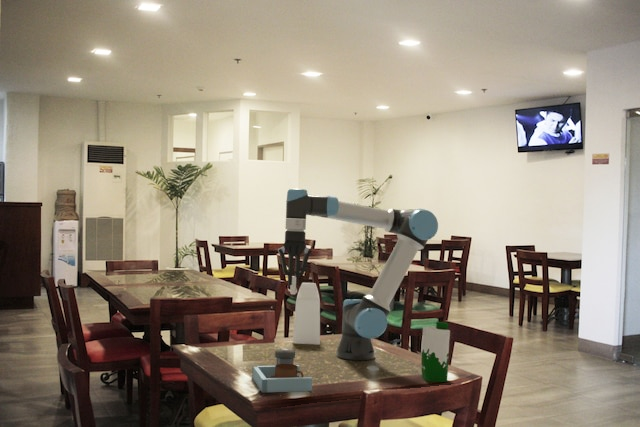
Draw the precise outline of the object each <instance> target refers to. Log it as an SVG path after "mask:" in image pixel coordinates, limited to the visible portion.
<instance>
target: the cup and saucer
mask: <svg viewBox="0 0 640 427" xmlns="http://www.w3.org/2000/svg"><path fill="white" fill-rule="evenodd" d="M296 365H297V364H294V363H293V364H278V365H276V364H275V365H274V366H275V375H274V376H270V377H268V378H294V377H305V376H304V373H303V372H302V371H301V370H300V371H297V369H298V366H296ZM297 373H299V374H301V376H300V375H299V376H297Z"/></svg>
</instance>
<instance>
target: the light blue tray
mask: <svg viewBox="0 0 640 427" xmlns="http://www.w3.org/2000/svg"><path fill="white" fill-rule="evenodd" d="M275 358H276V357H275ZM294 359H295V358H293V359H279V358H276V361H275V365H253V366H252V371H251V372H252V373H251V374H252V376H251V378H252V380H253V381H254V383H255V384H256V386H257V387H258V389H259V391H261V393H263V394H264V393H285V392H286V393H287V392H288V393H289V392H293V393H294V392H312V391H313V377H312V376H311V377H310V376H303V377H301V376H300V373H297V376H299V377H294V378H268V377H270V376H274V375H275V366H276V365H278V364H293V365H294ZM295 365H296V366H298V369H297V371H301V368H300V367H301V366H300V365H299V364H295Z"/></svg>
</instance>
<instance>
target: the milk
mask: <svg viewBox="0 0 640 427" xmlns="http://www.w3.org/2000/svg"><path fill="white" fill-rule="evenodd" d="M320 299H321V298H320V293H319V289H318V286H317V284H316V282H315V283H314V282H302V283H301V284H300V286H299V289H298V292H297V295H296V300H295V308H294V309H295V310H294V320H293V321H294V322H293V333H292V344H299V345H300V344H303V345H321V301H320Z"/></svg>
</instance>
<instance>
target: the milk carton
mask: <svg viewBox="0 0 640 427" xmlns="http://www.w3.org/2000/svg"><path fill="white" fill-rule="evenodd" d="M450 336H451V330H450V329H449V322H448V321H447V322H446V321H436V326H432V325H431V326H422V340H421V363H420V364H421V365H420V366H421V377H422V379H424V380H425V381H426V382H427V383H429V382H430V383H447V382H448V374H449V373H448V372H449V356H450V355H449V353H450V352H449V351H450Z"/></svg>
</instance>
